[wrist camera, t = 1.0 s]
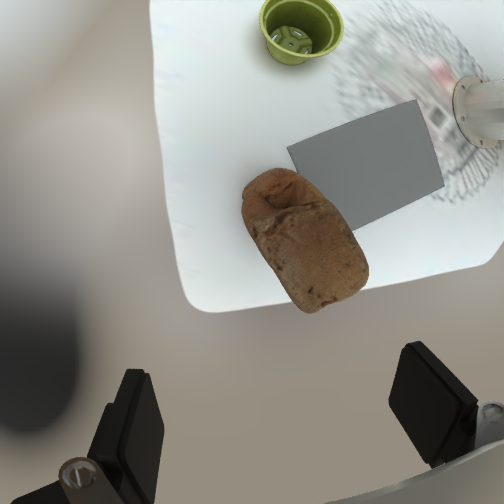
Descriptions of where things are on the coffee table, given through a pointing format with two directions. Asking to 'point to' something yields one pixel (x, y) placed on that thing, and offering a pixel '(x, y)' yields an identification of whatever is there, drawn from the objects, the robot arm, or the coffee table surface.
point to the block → (303, 239)
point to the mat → (372, 163)
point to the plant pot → (300, 28)
